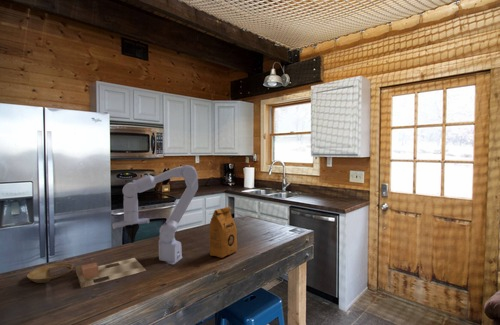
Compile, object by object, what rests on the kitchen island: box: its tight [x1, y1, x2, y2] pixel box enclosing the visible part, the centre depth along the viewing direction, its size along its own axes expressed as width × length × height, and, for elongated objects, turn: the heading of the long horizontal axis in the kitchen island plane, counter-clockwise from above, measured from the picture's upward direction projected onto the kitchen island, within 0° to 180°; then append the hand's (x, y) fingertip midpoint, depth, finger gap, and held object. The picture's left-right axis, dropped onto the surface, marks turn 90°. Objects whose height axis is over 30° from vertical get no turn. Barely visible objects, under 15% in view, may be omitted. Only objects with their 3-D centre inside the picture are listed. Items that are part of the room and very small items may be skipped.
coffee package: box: [208, 206, 238, 258], centre depth 128 cm, size 10×12×22 cm
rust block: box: [80, 261, 99, 280], centre depth 104 cm, size 5×5×4 cm
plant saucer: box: [26, 262, 74, 284], centre depth 107 cm, size 15×15×3 cm
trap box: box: [75, 257, 147, 289], centre depth 108 cm, size 22×17×3 cm
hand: (131, 242), depth 117 cm, fingers closed
